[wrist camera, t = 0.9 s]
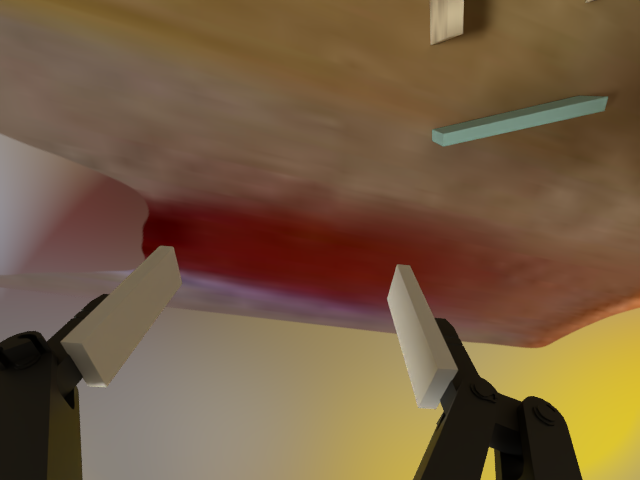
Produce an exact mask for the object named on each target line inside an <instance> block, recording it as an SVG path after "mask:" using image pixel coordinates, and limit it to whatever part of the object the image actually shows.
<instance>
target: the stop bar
mask: <svg viewBox="0 0 640 480" xmlns="http://www.w3.org/2000/svg"><path fill="white" fill-rule="evenodd" d="M607 100H608V96H576V97H571V98H567V99H563V100H558V101H554V102H550V103H545V104H541V105H537V106H532V107H528V108H524V109H519V110H515V111H511V112H506V113H502V114H498V115H493V116H489V117H485V118H480V119H476V120H472V121H467V122H463V123H459V124H454V125H450V126H446V127H441V128H437V129H433V130H432V141H433V142H435V143H437V144H439V145H441V146H448V145H453V144H457V143H462V142H466V141H471V140H475V139H480V138H484V137H489V136H493V135H498V134H502V133H507V132H511V131H516V130H520V129H525V128H529V127H534V126H538V125H543V124H547V123H552V122H556V121H561V120H565V119H570V118H574V117H579V116H583V115H588V114H592V113H597V112H602V111H605V107H606V103H607Z"/></svg>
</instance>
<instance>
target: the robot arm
mask: <svg viewBox="0 0 640 480" xmlns="http://www.w3.org/2000/svg"><path fill="white" fill-rule="evenodd" d="M181 285H182V281H181V277H180V272H179V268H178V264H177V260H176V256H175V251H174V247H169V246H159V247H158V248H157V249H156V250H155V251H154V252H153V253H152V254H151V255H150V256H149V257H148V258H147V259H146V260H145V261H144V262H143V263H142V264H141V265H140V266H139V267H138V268H137V269H136V270H134V271H133V272H132V273H131V274H130V275H129V276H128V277H127V278H126V279H125V280H124V281H123V282H122V283H121V284H120V285H119V286H118V287H117V288H116V289H115V290H114V291H113V292H112V293H111V294H103V295H101V296H99V297H97V298H96V299H94V300H92V301H91V302H90V303H89V304H87V306H85V307H84V308H83V309H82V311H81V312H79V313H78V314H76V315H75V316H74V318H73V319H71V320H70V321H69V322H68V323H67V324H66V325H65V326H63V327H62V328H61V329H60V330H59V331H58V332H57V333H56V334H55V335H54V336H52V337H51V338H50V339H49V340H48V341H47V342H46V340H45V339H44V337H43V336H42V335H41V333H39V332H36V331H27V332H24V333H19V334H16V335H14V336H12V337H9V338H7V339H6V340H4V341H2V342H1V343H0V480H82V458H81V437H80V414H79V394H78V389H77V386H76V385H77V383H79V381H80V380H81V379H82V378H83V379H84V380H85V382H86V383H87V385H88V386H97V387H107V386H108V385H109V383H110V382H111V381H112V379H113V378H114V377H115V375H116V374H117V372H118V371H119V370H120V368H121V367H122V365H123V364H124V363H125V361H126V360H127V359H128V357H129V356H130V354H131V353H132V352H133V350H134V349H135V348H136V346H137V345H138V343H139V342H140V341H141V339H142V338H143V337H144V335H145V334H146V333H147V331H148V330H149V328H150V327H151V326H152V324H153V323H154V322H155V320H156V319H157V318H158V316H159V315H160V313H161V312H162V311H163V309H164V308H165V307H166V305H167V304H168V302H169V301H170V300H171V298H172V297H173V296H174V294H175V293H176V291H177V290H178V289H179V287H180V286H181ZM387 300H388V304H389V307H390V311H391V314H392V318H393V321H394V325H395V328H396V332H397V335H398V338H399V342H400V346H401V349H402V353H403V356H404V359H405V363H406V367H407V370H408V373H409V377H410V381H411V384H412V388H413V391H414V395H415V398H416V402H417V405H418V408H429V409H436V408H437V406H438V404H439V403H440V402H441V405H442V407H443V410H444V412H443V414H442V415H441V417H440V419H439V421H438V422H437V427H436V429H435V432H434V434H433V436H432V438H431V440H430V443H429V445H428V447H427V449H426V452H425V454H424V456H423V458H422V461H421V463H420V465H419V467H418V470H417V472H416V475H415V476H414V479H413V480H480V478H481V474H482V471H483V467H484V463H485V459H486V456H487V452H488V448H489V447H491V448H494V452H495V471H496V480H582V476H581V473H580V469H579V466H578V462H577V459H576V455H575V451H574V448H573V444H572V441H571V437H570V434H569V430H568V427H567V424H566V422H565V420H564V417H563V416H562V415H561V414H560V413H559V412H558V410H557V409H556V408H554V407H553V406H552V405H551V404H550V403H548V402H546V401H545V400H543V399H541V398H538V397H534V396H530V397H527V398H526V399H524V400H523V401H522V402H521V401H518V400H516V399H513V398H510V397H508V396H505V395H502V394H500V393H498V392H497V391H496V389H495V388H494V387H493V386H492V385H491V384H490V383H489V382H487V381H486V380H485V379H483V378H481V377H480V376H479V375H478V373H477V371H476V369H475V367H474V365H473V363H472V362H471V359H470V358H469V356H468V354H467V352H466V350H465V348H464V346H462V345H463V344H462V342H461V340H460V339H459V338H458V335H457V333H456V331H455V329H454V327H453V326H452V325H451V324H450V323H449V322H448V321H447V320H446V319H441V318H434V317H433V314H432V312H431V310H430V308H429V306H428V304H427V301H426V299H425V297H424V295H423V293H422V291H421V289H420V286H419V284H418V282H417V280H416V278H415V276H414V273H413V271H412V269H411V267H410V265H397V266H396V270H395V273H394V277H393V280H392V284H391V288H390V291H389V295H388V298H387Z"/></svg>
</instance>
